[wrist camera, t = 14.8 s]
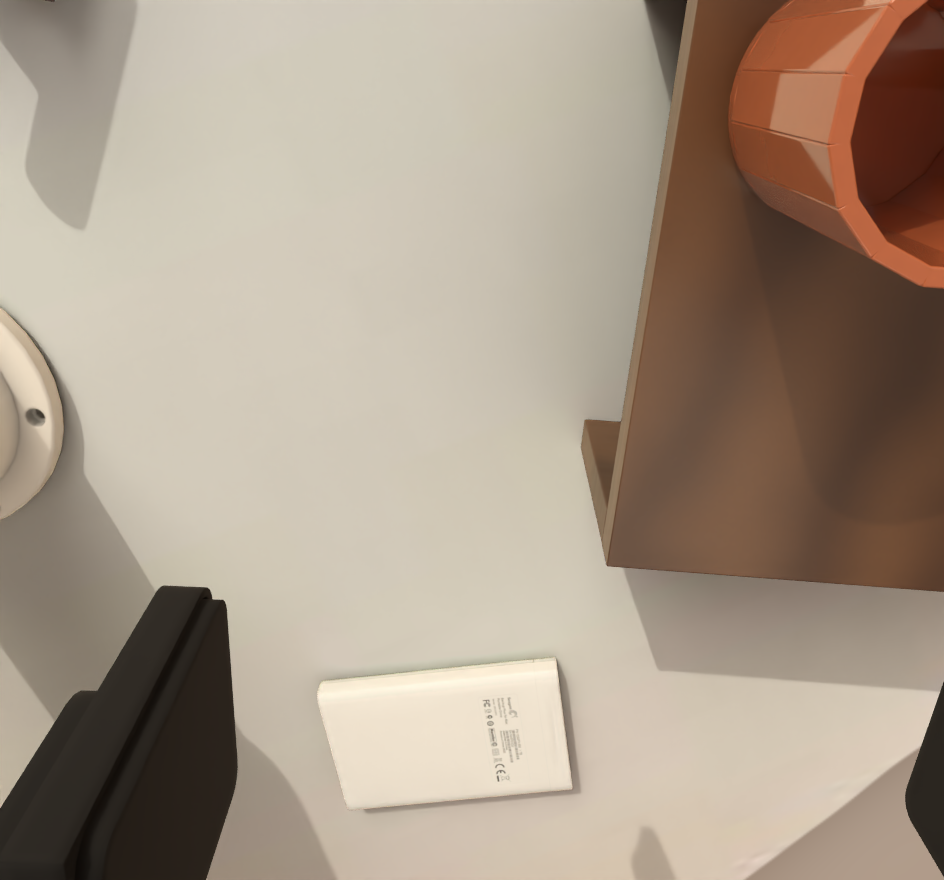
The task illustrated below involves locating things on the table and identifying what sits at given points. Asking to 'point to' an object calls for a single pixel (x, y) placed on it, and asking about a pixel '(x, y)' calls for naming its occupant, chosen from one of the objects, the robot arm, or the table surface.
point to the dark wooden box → (767, 375)
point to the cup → (850, 126)
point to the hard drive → (447, 733)
